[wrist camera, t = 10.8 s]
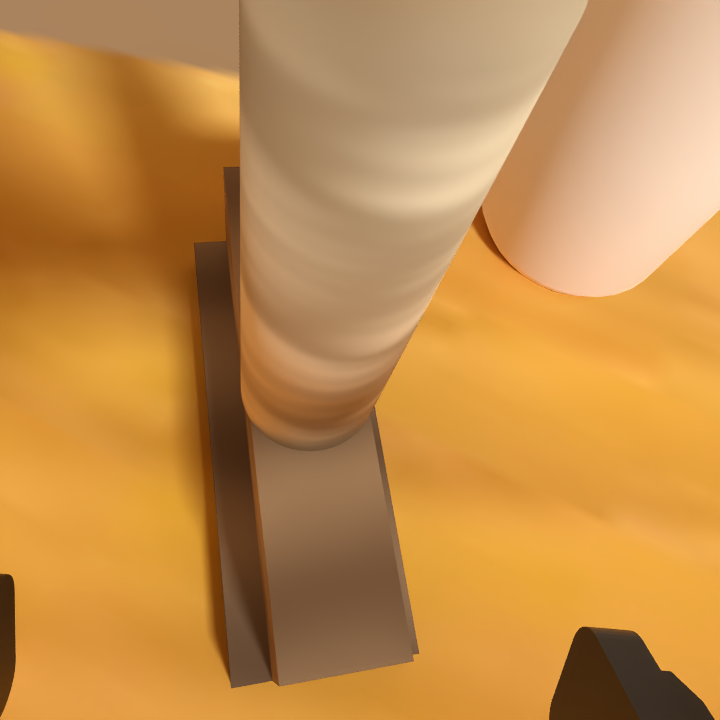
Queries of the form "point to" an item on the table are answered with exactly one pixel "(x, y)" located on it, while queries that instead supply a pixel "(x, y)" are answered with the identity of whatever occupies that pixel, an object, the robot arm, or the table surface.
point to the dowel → (366, 183)
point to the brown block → (294, 518)
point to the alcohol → (615, 150)
